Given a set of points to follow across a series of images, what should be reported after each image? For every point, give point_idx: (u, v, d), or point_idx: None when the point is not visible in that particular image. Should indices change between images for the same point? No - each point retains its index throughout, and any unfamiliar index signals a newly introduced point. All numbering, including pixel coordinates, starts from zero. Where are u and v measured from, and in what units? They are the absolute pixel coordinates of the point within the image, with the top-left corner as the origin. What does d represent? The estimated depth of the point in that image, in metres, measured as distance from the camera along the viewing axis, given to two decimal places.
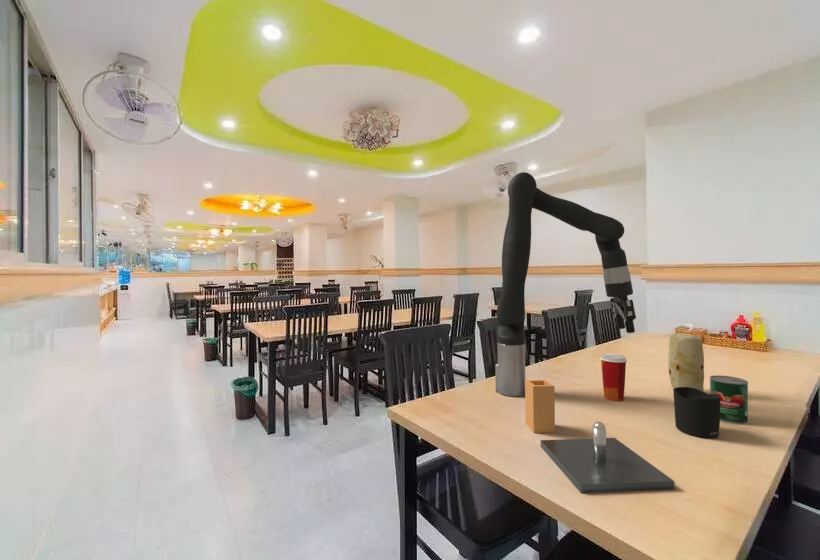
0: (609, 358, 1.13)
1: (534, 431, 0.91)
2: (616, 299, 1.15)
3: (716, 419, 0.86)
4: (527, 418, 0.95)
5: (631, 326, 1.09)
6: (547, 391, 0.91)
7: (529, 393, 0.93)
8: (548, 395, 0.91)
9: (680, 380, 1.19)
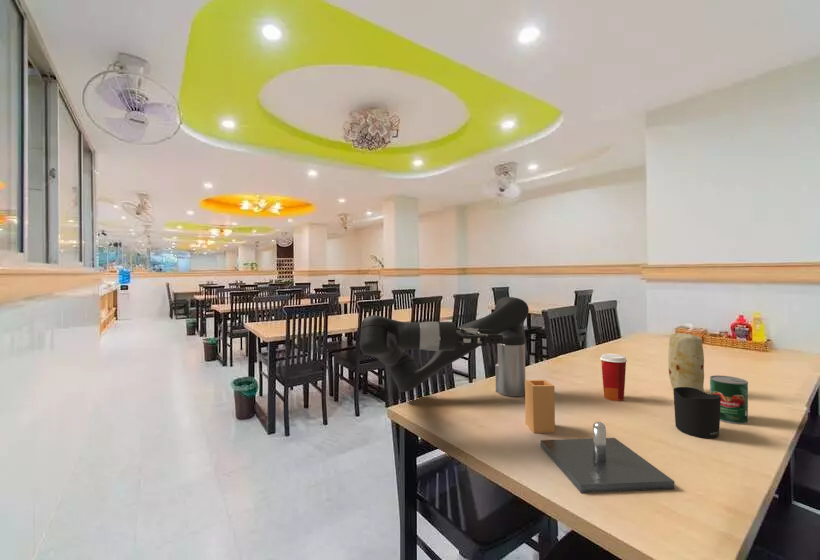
0: (609, 358, 1.13)
1: (534, 431, 0.91)
2: None
3: (716, 419, 0.86)
4: (527, 418, 0.95)
5: (495, 339, 0.88)
6: (547, 391, 0.91)
7: (529, 393, 0.93)
8: (548, 395, 0.91)
9: (680, 380, 1.19)
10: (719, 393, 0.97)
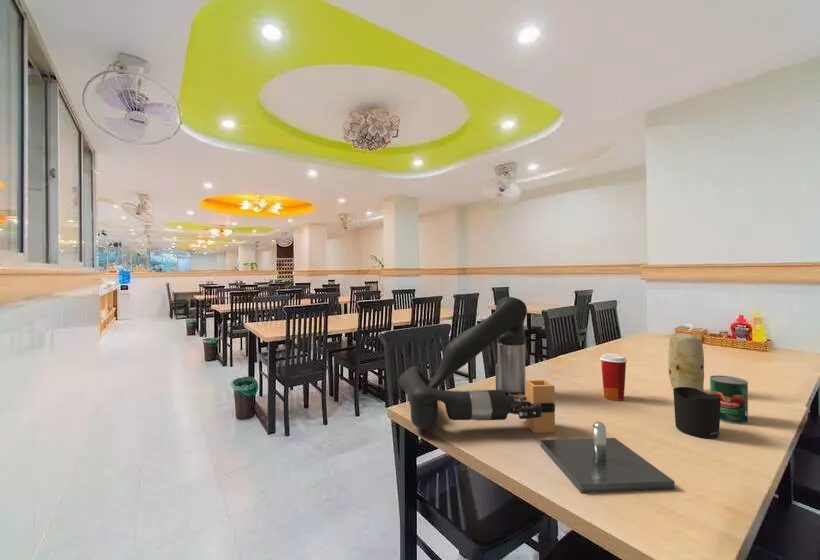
0: (609, 358, 1.13)
1: (534, 431, 0.91)
2: None
3: (716, 419, 0.86)
4: None
5: (548, 408, 0.89)
6: (547, 391, 0.91)
7: (529, 393, 0.93)
8: (548, 395, 0.91)
9: (680, 380, 1.19)
10: (719, 393, 0.97)
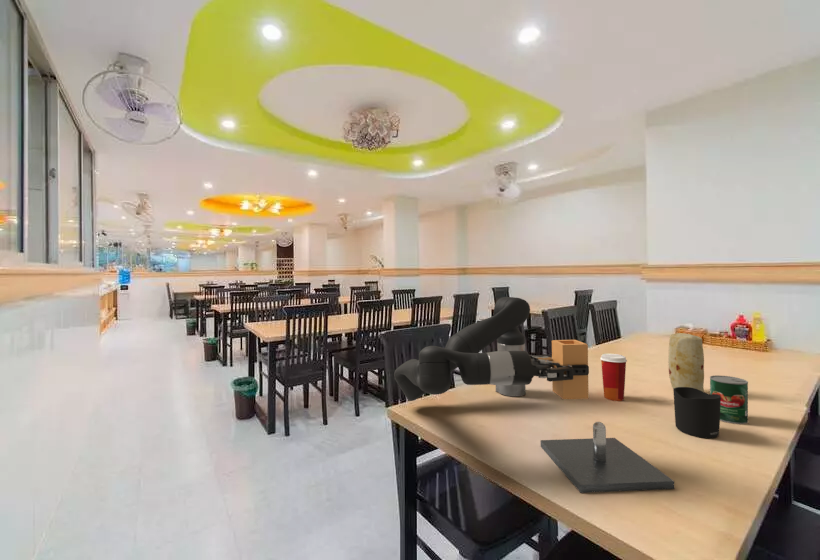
0: (609, 358, 1.13)
1: (564, 397, 0.77)
2: None
3: (716, 419, 0.86)
4: (555, 384, 0.81)
5: (581, 370, 0.76)
6: (579, 350, 0.77)
7: (557, 354, 0.79)
8: (580, 355, 0.77)
9: (680, 380, 1.19)
10: (719, 393, 0.97)
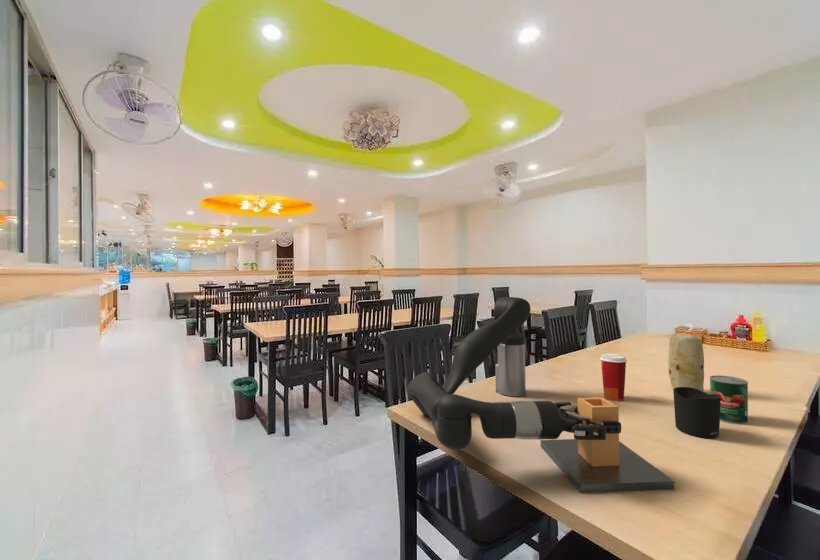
0: (609, 358, 1.13)
1: (593, 464, 0.72)
2: None
3: (716, 419, 0.86)
4: (581, 446, 0.76)
5: (613, 428, 0.69)
6: (609, 413, 0.72)
7: (585, 415, 0.74)
8: (611, 418, 0.72)
9: (680, 380, 1.19)
10: (719, 393, 0.97)
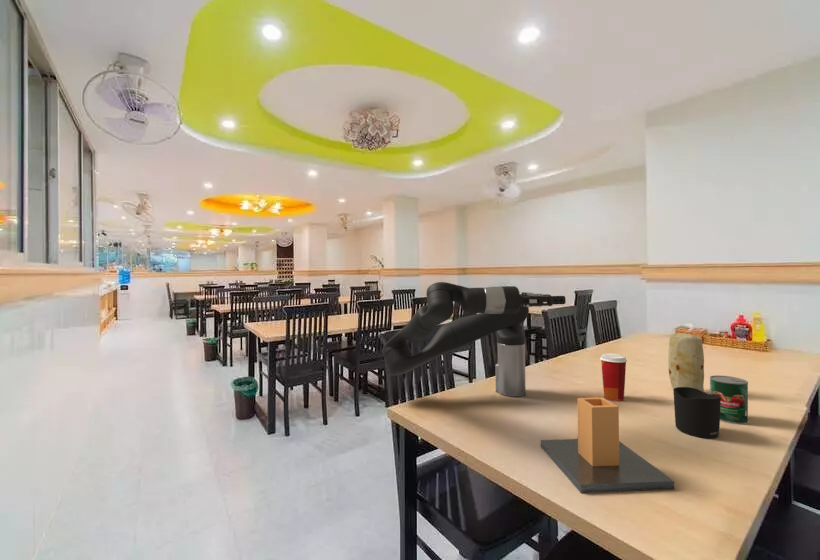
0: (609, 358, 1.13)
1: (593, 464, 0.72)
2: None
3: (716, 419, 0.86)
4: (581, 446, 0.76)
5: (559, 299, 0.92)
6: (609, 413, 0.72)
7: (585, 415, 0.74)
8: (611, 418, 0.72)
9: (680, 380, 1.19)
10: (719, 393, 0.97)
